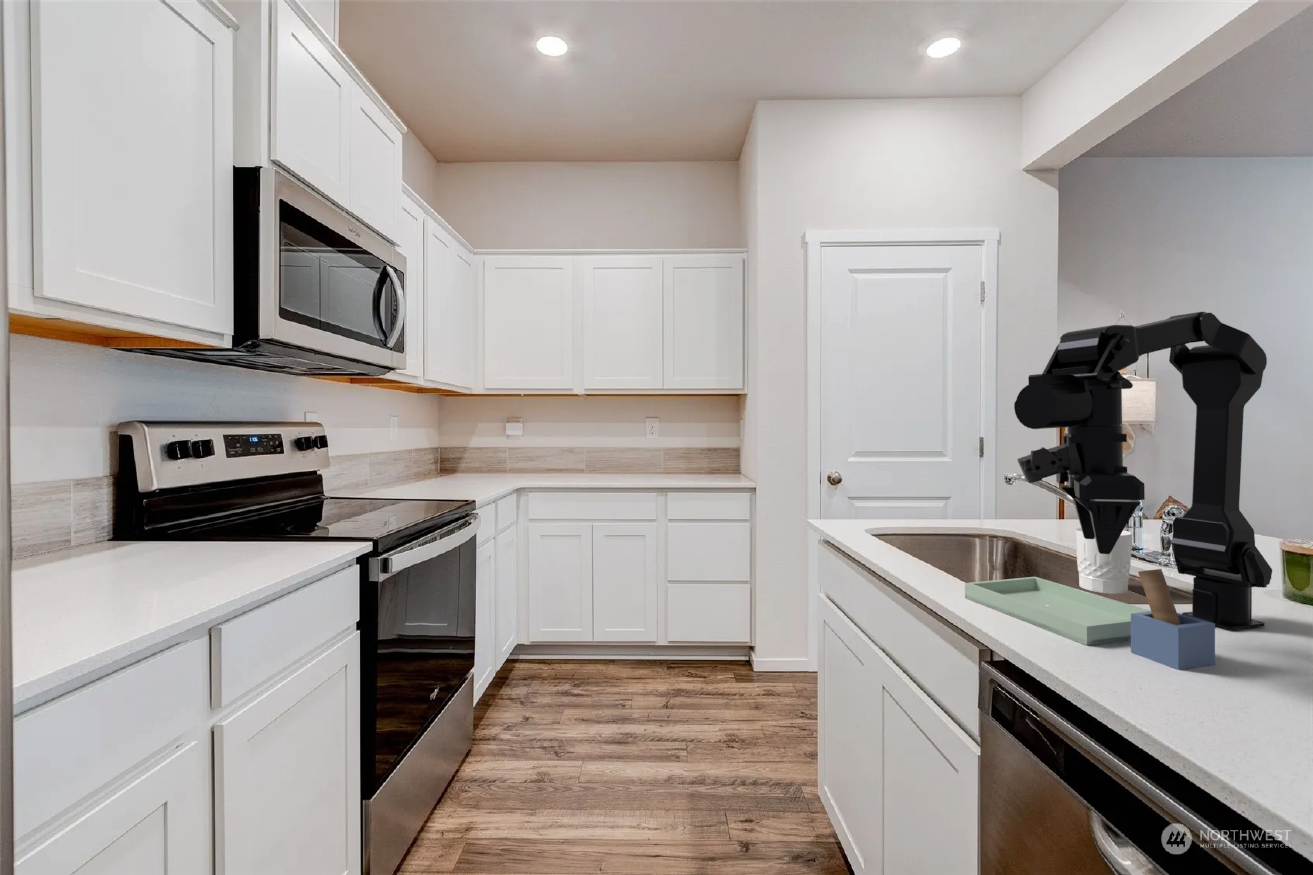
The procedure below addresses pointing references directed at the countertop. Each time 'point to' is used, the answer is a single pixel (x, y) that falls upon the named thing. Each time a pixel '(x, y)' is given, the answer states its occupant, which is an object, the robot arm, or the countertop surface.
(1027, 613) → the sage tray
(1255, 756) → the countertop surface
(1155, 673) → the countertop surface
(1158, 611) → the walnut dowel
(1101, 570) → the white cup
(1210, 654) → the slate blue cup
